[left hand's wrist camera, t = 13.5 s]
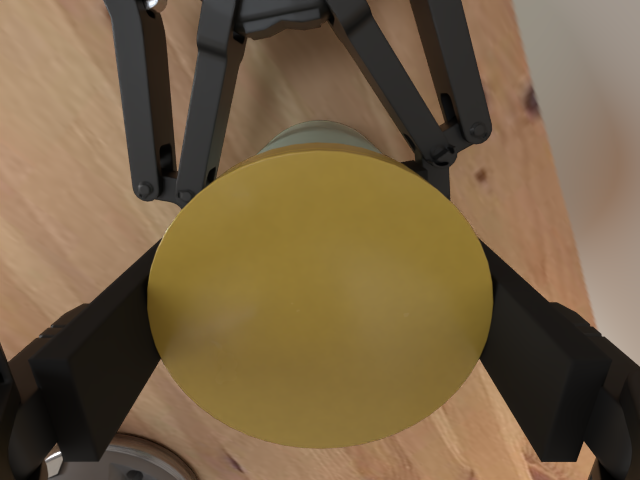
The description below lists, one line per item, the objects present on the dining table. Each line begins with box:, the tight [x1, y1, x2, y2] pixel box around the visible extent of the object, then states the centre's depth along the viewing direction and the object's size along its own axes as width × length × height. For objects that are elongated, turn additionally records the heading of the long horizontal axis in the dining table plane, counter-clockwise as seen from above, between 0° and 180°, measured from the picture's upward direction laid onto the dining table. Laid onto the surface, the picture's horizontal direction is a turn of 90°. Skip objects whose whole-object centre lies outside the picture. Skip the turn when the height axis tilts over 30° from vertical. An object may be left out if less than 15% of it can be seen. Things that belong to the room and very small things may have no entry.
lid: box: [147, 142, 493, 449], centre depth 11 cm, size 10×10×2 cm
